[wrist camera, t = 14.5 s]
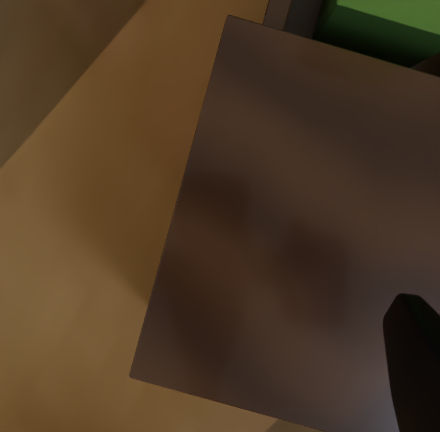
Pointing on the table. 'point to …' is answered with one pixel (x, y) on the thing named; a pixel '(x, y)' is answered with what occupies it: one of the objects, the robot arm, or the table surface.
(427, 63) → the drawer
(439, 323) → the robot arm
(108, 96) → the table surface
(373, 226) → the cabinet
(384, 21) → the green beveled box
